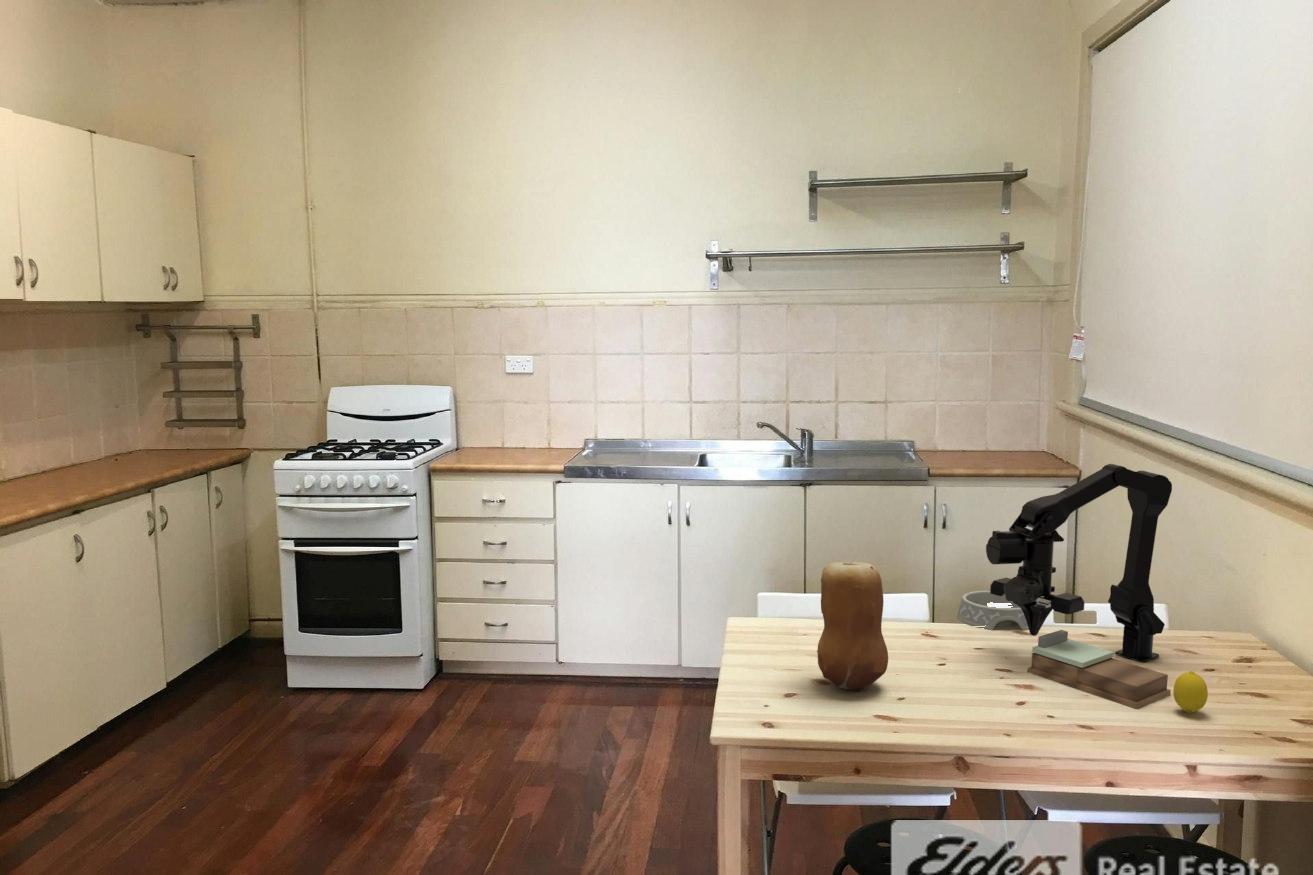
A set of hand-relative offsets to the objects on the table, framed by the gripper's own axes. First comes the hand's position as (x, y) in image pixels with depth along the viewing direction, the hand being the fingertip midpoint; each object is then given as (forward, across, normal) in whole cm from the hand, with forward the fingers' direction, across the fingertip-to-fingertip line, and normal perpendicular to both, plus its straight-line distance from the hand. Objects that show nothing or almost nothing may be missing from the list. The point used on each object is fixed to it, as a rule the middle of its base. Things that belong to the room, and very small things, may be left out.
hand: (1033, 635), depth 208 cm
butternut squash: (+6, -12, -42) cm, 44 cm away
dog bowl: (+6, -22, +19) cm, 30 cm away
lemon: (+6, +32, 0) cm, 33 cm away
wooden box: (+6, +14, 0) cm, 16 cm away
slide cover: (+2, +9, 0) cm, 9 cm away
